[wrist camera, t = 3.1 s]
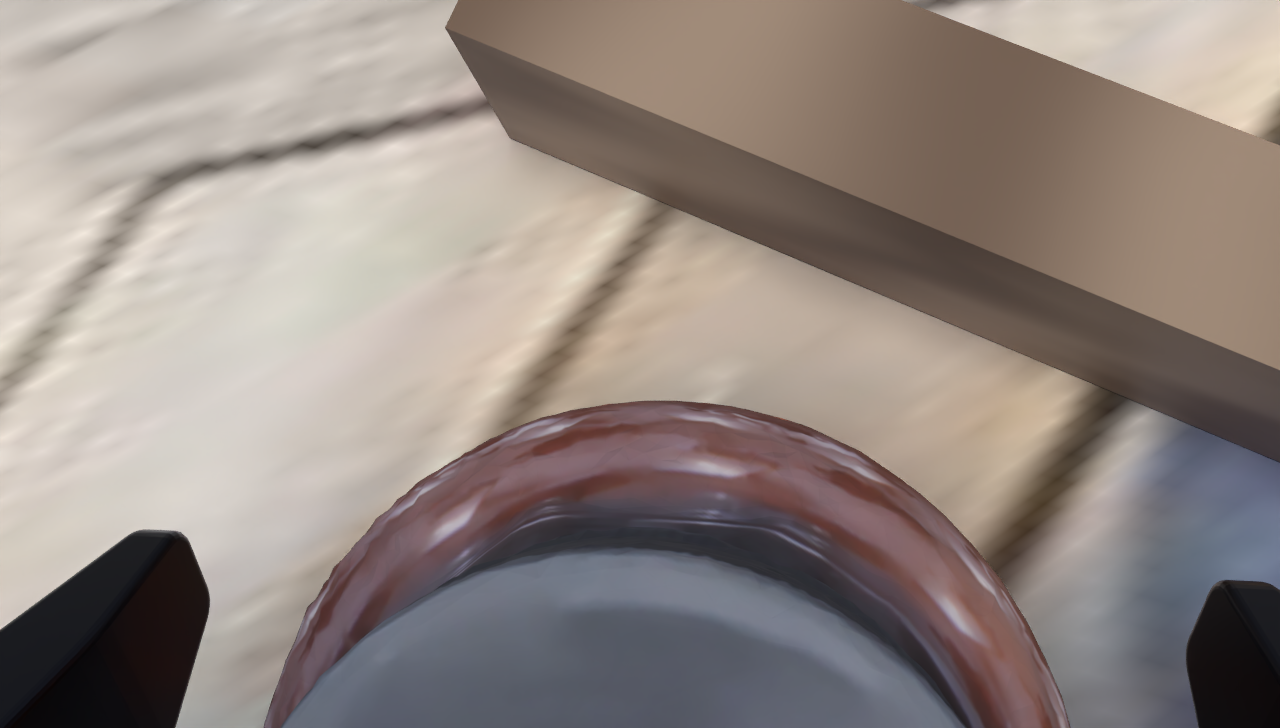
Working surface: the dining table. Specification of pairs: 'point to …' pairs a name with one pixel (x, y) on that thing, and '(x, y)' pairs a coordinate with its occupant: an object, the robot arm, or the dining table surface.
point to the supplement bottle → (664, 591)
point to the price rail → (927, 177)
